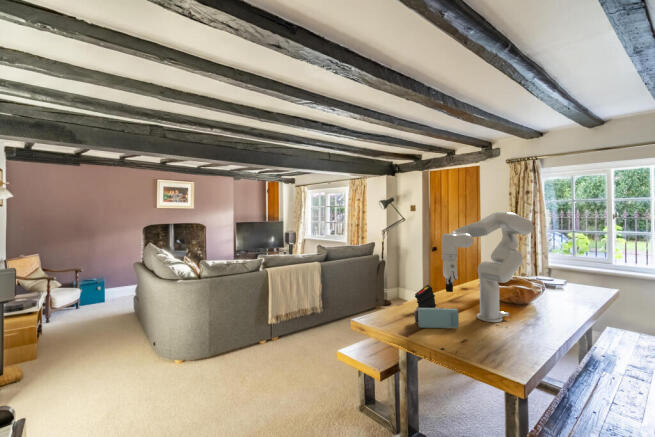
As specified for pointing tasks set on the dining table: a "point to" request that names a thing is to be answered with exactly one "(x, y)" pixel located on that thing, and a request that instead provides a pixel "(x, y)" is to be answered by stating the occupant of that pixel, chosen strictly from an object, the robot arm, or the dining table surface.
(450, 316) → the side door
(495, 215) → the robot arm
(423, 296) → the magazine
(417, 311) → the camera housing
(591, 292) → the dining table surface
